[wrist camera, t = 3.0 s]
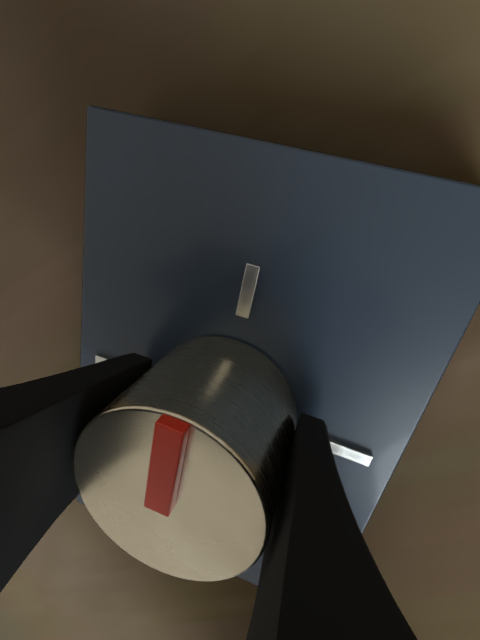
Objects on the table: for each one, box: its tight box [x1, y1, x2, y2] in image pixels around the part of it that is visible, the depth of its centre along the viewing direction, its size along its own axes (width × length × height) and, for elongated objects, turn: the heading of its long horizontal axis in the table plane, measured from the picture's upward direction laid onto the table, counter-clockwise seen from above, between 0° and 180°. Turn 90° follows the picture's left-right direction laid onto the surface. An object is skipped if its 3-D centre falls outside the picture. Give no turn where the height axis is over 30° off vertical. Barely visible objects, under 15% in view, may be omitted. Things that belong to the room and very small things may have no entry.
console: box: [77, 105, 480, 586], centre depth 11 cm, size 14×10×3 cm
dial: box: [73, 336, 298, 582], centre depth 9 cm, size 4×4×4 cm
